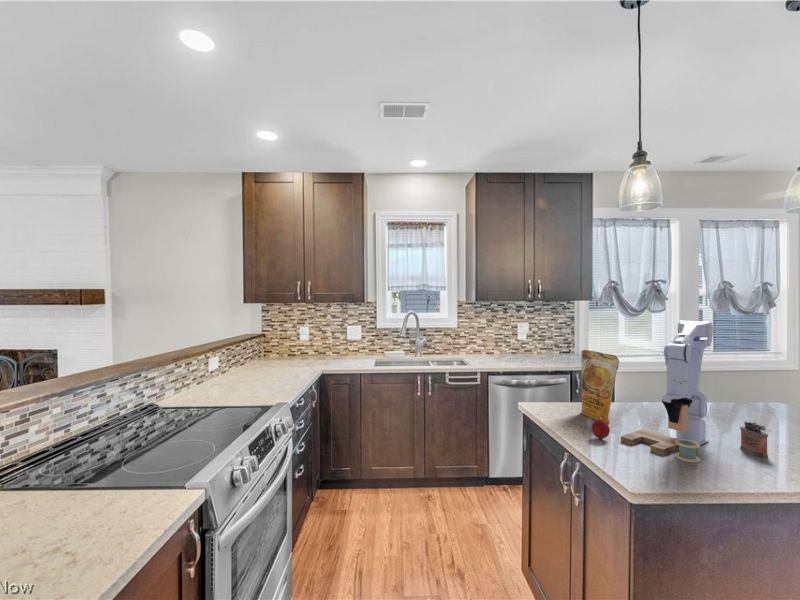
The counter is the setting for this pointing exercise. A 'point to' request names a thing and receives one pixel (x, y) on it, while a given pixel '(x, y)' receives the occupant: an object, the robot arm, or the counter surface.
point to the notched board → (652, 441)
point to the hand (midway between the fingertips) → (677, 421)
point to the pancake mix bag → (597, 383)
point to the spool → (687, 450)
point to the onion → (600, 429)
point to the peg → (680, 420)
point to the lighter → (754, 439)
